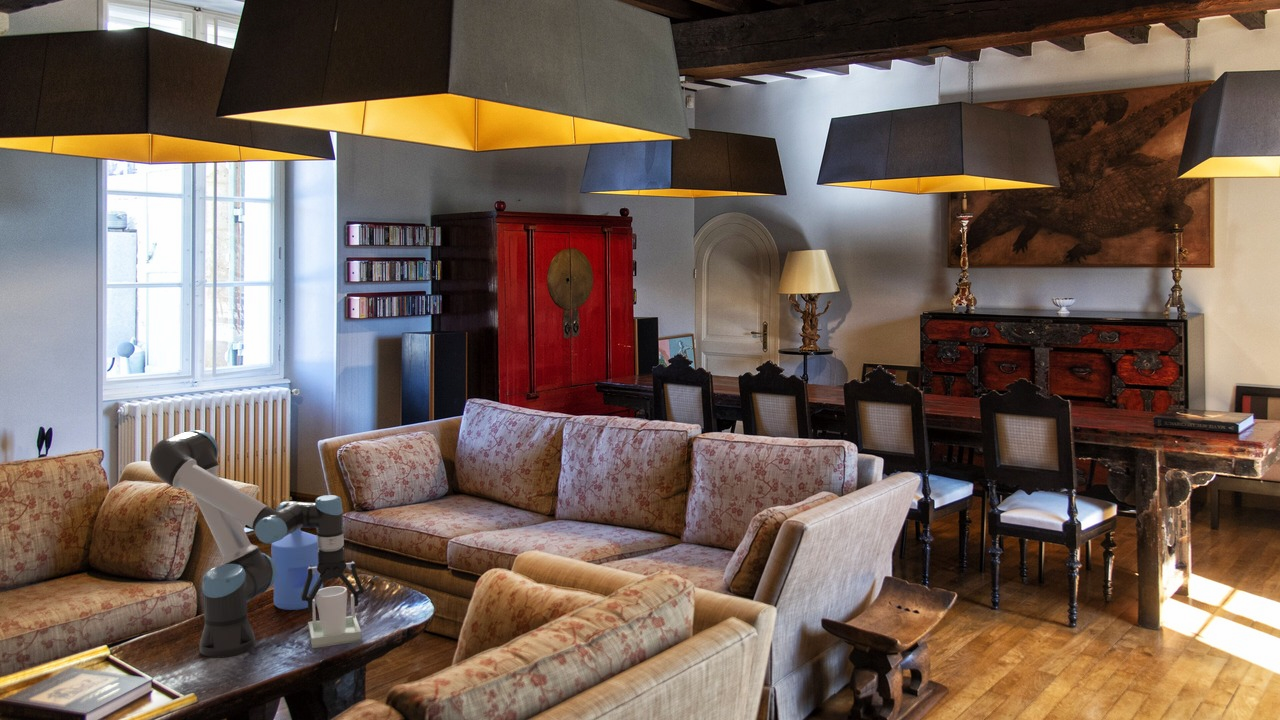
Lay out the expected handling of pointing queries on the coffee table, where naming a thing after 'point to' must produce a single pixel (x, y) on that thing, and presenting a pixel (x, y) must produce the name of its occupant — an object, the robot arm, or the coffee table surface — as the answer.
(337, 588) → the foam cup
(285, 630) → the coffee table surface
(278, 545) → the water jug
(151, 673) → the coffee table surface
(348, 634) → the tray
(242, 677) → the coffee table surface
